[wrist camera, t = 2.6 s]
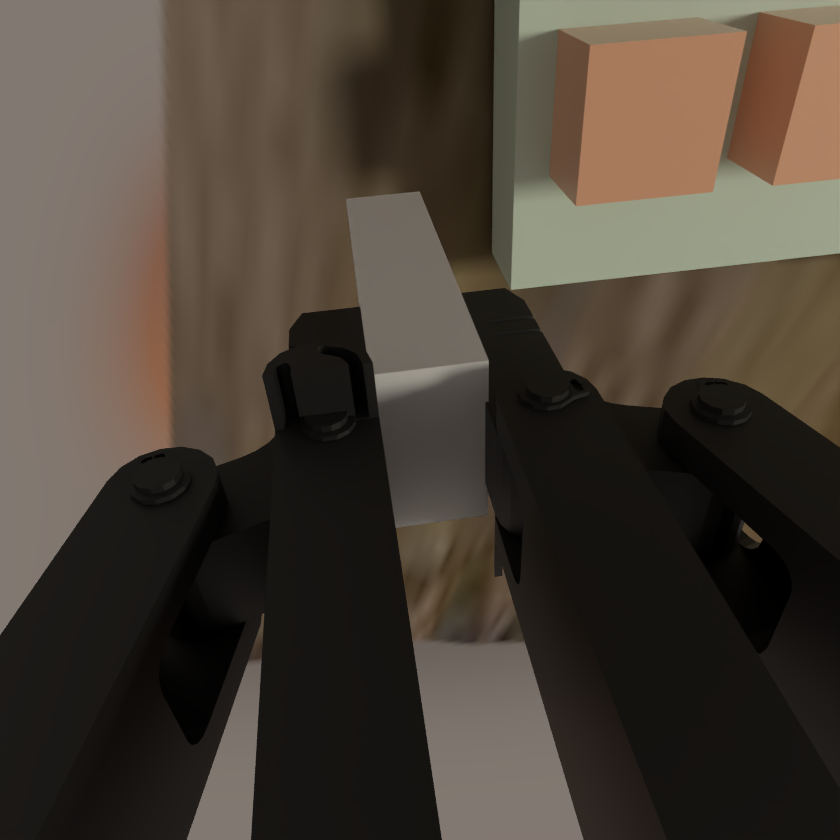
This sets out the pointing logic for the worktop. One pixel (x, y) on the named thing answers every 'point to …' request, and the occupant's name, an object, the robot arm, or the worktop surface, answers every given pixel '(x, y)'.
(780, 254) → the board
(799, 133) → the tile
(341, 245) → the worktop surface
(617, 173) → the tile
